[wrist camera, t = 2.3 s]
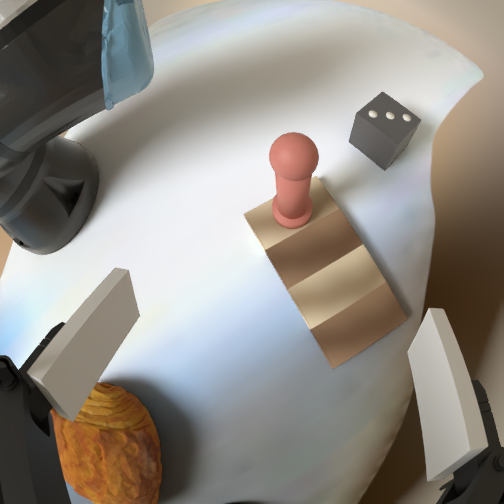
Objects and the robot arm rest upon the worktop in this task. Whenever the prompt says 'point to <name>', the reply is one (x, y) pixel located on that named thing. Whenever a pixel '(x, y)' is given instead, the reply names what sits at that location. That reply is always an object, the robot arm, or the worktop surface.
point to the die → (383, 129)
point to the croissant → (110, 448)
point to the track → (329, 277)
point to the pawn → (293, 178)
